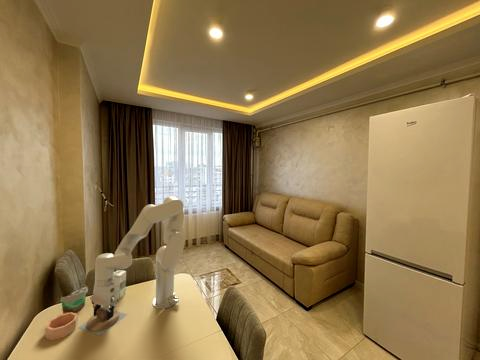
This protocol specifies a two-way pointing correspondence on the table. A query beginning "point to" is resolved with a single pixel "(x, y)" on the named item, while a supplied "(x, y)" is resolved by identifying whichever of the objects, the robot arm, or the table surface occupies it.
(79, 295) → the food container
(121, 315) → the mat
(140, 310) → the table surface
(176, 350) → the table surface
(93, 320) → the lid
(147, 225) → the robot arm
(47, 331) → the bowl
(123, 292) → the syrup box
